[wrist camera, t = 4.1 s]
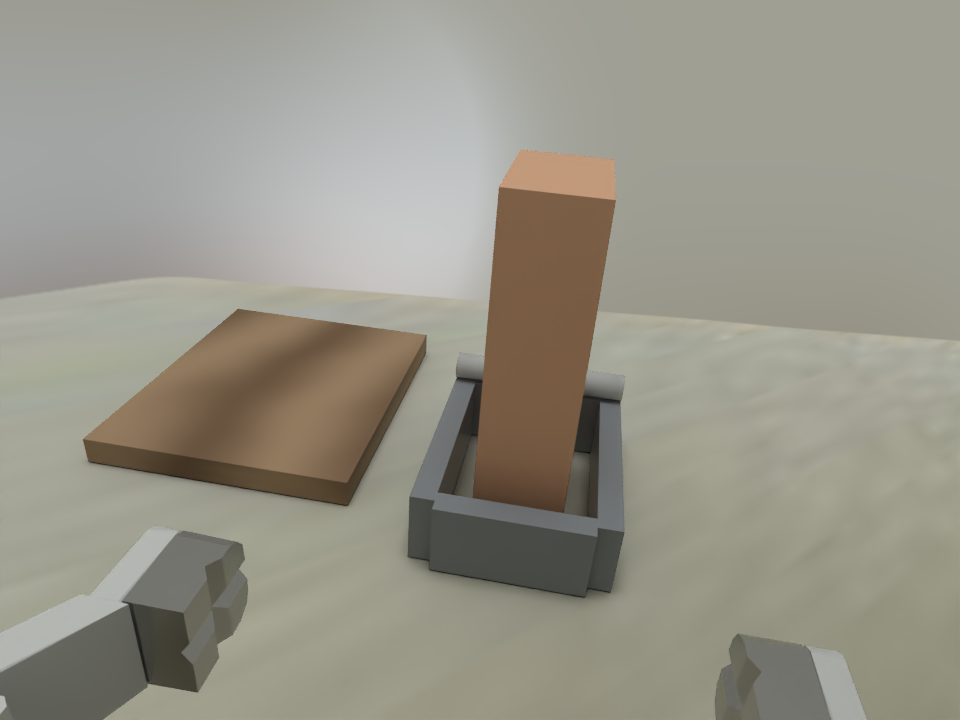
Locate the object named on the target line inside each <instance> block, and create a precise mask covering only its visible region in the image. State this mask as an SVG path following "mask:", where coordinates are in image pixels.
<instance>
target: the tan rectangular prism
mask: <svg viewBox="0 0 960 720" xmlns="http://www.w3.org/2000/svg"><path fill="white" fill-rule="evenodd" d="M615 202H616V193H615V167H614V160H613V159H603V158H594V157H585V156H575V155H565V154H555V153H547V152H538V151H528V150H520V152H519V153H518V155H517V157H516V159H515V160H514V162H513V164H512V165H511V167H510V169H509V171H508V172H507V174H506V176H505V178H504V179H503V181H502V183H501V184H500V186H499V194H498V206H497V218H496V230H495V241H494V253H493V265H492V277H491V289H490V300H489V312H488V324H487V336H486V348H485V359H484V371H483V383H482V395H481V407H480V418H479V430H478V442H477V454H476V466H475V477H474V489H473V498H475V499H481V500H487V501H493V502H499V503H505V504H511V505H517V506H523V507H529V508H535V509H541V510H547V511H553V512H560V513H563V512H564V506H565V500H566V494H567V488H568V482H569V476H570V471H571V465H572V459H573V453H574V447H575V441H576V435H577V429H578V423H579V417H580V411H581V405H582V399H583V393H584V387H585V381H586V375H587V369H588V363H589V357H590V351H591V345H592V339H593V333H594V327H595V321H596V315H597V309H598V303H599V297H600V291H601V286H602V279H603V274H604V267H605V262H606V256H607V250H608V244H609V238H610V232H611V226H612V220H613V214H614V208H615Z"/></svg>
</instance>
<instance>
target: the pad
mask: <svg viewBox="0 0 960 720" xmlns="http://www.w3.org/2000/svg"><path fill="white" fill-rule="evenodd" d="M426 337H427V335H421V334H414V333H407V332H400V331H393V330H385V329H378V328H371V327H364V326H357V325H349V324H342V323H335V322H328V321H321V320H314V319H306V318H299V317H292V316H285V315H278V314H270V313H263V312H256V311H249V310H242V309H237V310H236V311H235V312H234V313H233V314H232V315H230V316H229V317H228V318H227V319H226V320H224V321H223V322H222V323H221V324H220V325H218V326H217V327H216V328H215V329H214V330H212V331H211V332H210V333H209V334H208V335H206V336H205V337H204V338H203V339H202V340H201V341H199V342H198V343H197V344H196V345H195V346H193V347H192V348H191V349H190V350H189V351H187V352H186V353H185V354H184V355H183V356H181V357H180V358H179V359H178V360H177V361H175V362H174V363H173V364H172V365H171V366H170V367H168V368H167V369H166V370H165V371H164V372H162V373H161V374H160V375H159V376H158V377H156V378H155V379H154V380H153V381H152V382H150V383H149V384H148V385H147V386H146V387H144V388H143V389H142V390H141V391H140V392H139V393H137V394H136V395H135V396H134V397H133V398H131V399H130V400H129V401H128V402H127V403H125V404H124V405H123V406H122V407H121V408H119V409H118V410H117V411H116V412H115V413H113V414H112V415H111V416H110V417H109V418H108V419H106V420H105V421H104V422H103V423H102V424H100V425H99V426H98V427H97V428H96V429H94V430H93V431H92V432H91V433H90V434H88V435H87V436H86V437H85V438H84V439H83V442H84V446H85V450H86V454H87V458H88V461H90V462H96V463H102V464H107V465H113V466H119V467H125V468H131V469H137V470H143V471H149V472H155V473H161V474H166V475H172V476H178V477H184V478H190V479H196V480H202V481H208V482H214V483H220V484H226V485H231V486H237V487H243V488H249V489H255V490H261V491H267V492H273V493H279V494H285V495H290V496H296V497H302V498H308V499H314V500H320V501H326V502H332V503H338V504H344V505H348V503H349V502H350V500H351V498H352V496H353V494H354V492H355V490H356V488H357V486H358V484H359V482H360V480H361V478H362V476H363V474H364V472H365V470H366V468H367V466H368V465H369V463H370V461H371V459H372V457H373V455H374V453H375V451H376V449H377V447H378V445H379V443H380V441H381V439H382V437H383V435H384V433H385V431H386V430H387V428H388V426H389V424H390V422H391V420H392V418H393V416H394V414H395V412H396V410H397V408H398V406H399V404H400V402H401V400H402V398H403V396H404V394H405V393H406V391H407V389H408V387H409V385H410V383H411V381H412V379H413V377H414V375H415V373H416V371H417V369H418V367H419V365H420V363H421V361H422V359H423V358H424V356H425V354H426Z"/></svg>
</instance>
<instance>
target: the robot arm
mask: <svg viewBox="0 0 960 720" xmlns="http://www.w3.org/2000/svg"><path fill="white" fill-rule="evenodd" d="M244 560H245V557H244V551H243V545H242V544H240V543H238V542H235V541H230V540H225V539H220V538H216V537H211V536H206V535H202V534H197V533H192V532H187V531H181V530H176V529H171V528H166V527H161V526H157V525H156V526H154V527H152V528H150V529H148V530H147V531H146V532H145V533H144V534H143V535H142V536H141V537H140V538H139V540H138V541H137V542H136V543H135V544H134V545H133V546H132V547H131V549H130V550H129V551H128V552H127V553H126V554H125V555H124V557H123V558H122V559H121V560H120V561H119V562H118V563H117V564H116V566H115V567H114V568H113V569H112V570H111V571H110V572H109V574H108V575H107V576H106V577H105V578H104V579H103V580H102V581H101V583H100V584H99V585H98V586H97V587H96V588H95V589H94V591H93V592H92V593H91V594H90V595H89V596H87V595H81V594H80V595H78V596H76V597H74V598H72V599H70V600H68V601H66V602H64V603H61V604H59V605H57V606H55V607H53V608H51V609H49V610H47V611H45V612H43V613H41V614H39V615H36V616H34V617H32V618H30V619H28V620H26V621H24V622H22V623H20V624H18V625H16V626H13V627H11V628H9V629H7V630H5V631H3V632H1V633H0V720H103V719H104V718H106V717H107V716H108V715H110V714H111V713H112V712H114V711H115V710H117V709H118V708H119V707H121V706H122V705H123V704H125V703H126V702H128V701H129V700H130V699H132V698H133V697H134V696H136V695H137V694H139V693H140V692H141V691H143V690H144V689H145V688H147V686H148V685H147V684H152V685H158V686H164V687H169V688H175V689H180V690H186V691H191V692H197V693H198V692H199V690H200V688H201V687H202V685H203V683H204V682H205V680H206V679H207V677H208V675H209V674H210V672H211V670H212V669H213V667H214V665H215V664H216V662H217V660H218V659H219V654H218V647H217V644H219V643H220V642H222V641H223V640H225V639H227V638H228V637H230V636H232V635H233V633H234V631H235V630H236V628H237V626H238V624H239V623H240V621H241V618H242V615H243V612H244V609H245V606H246V603H247V595H248V583H247V578H246V577H245V576H244V574H243V573H242V572H241V571H240V570H239V567H240V566H241V564H242V563H243V561H244ZM729 653H730V659H731V664H730V665H728V666H726V667H724V668H723V669H722V670H721V673H720V676H719V679H718V682H717V688H716V697H715V716H716V720H867V717H866V714H865V712H864V709H863V706H862V704H861V701H860V698H859V695H858V693H857V690H856V687H855V685H854V682H853V679H852V676H851V674H850V671H849V668H848V666H847V663H846V660H845V658H844V657H843V655H842V654H841V653H840V652H839V651H833V650H828V649H822V648H816V647H811V646H802V645H801V644H795V643H789V642H783V641H778V640H772V639H766V638H760V637H754V636H749V635H743V634H737V635H736V636H735V637H734V638H733V640H732V643H731V646H730V648H729Z"/></svg>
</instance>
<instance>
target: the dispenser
mask: <svg viewBox="0 0 960 720" xmlns="http://www.w3.org/2000/svg"><path fill="white" fill-rule="evenodd" d="M484 359H485V356H481V355H474V354H467V353H459V356H458V360H457V366H456V377H457V379H456V381H455V384H454V386H453V389H452V391H451V394H450V396H449V399H448V401H447V404H446V406H445V409H444V411H443V414H442V416H441V419H440V421H439V424H438V426H437V429H436V431H435V434H434V436H433V439H432V441H431V444H430V446H429V449H428V451H427V454H426V456H425V459H424V461H423V464H422V466H421V469H420V472H419V474H418V477H417V479H416V482H415V484H414V487H413V489H412V492H411V494H410V500H409V534H408V556H410V557H415V558H421V559H427V560H429V569H430V570H436V571H441V572H447V573H452V574H458V575H464V576H469V577H475V578H481V579H486V580H492V581H497V582H503V583H509V584H514V585H520V586H526V587H531V588H537V589H542V590H548V591H554V592H559V593H565V594H571V595H576V596H582V597H585V595H586V590H587V588H591V589H597V590H603V591H608V592H611V589H612V585H613V580H614V576H615V571H616V567H617V563H618V558H619V554H620V549H621V545H622V541H623V536H624V502H623V470H622V438H621V406H620V401H621V399H622V395H623V390H624V381H625V376H623V375H616V374H609V373H602V372H595V371H588V370H587V375H586V381H585V387H584V393H583V399H582V405H581V411H580V417H579V423H578V429H577V435H576V441H575V447H574V450H577V451H583V452H590V453H591V456H590V482H589V509H588V517H584V516H578V515H572V514H566V513H560V512H553V511H547V510H541V509H535V508H529V507H523V506H517V505H511V504H505V503H499V502H493V501H487V500H481V499H475V498H469V497H462V496H456V495H452V494H453V491H454V488H455V485H456V482H457V478H458V475H459V472H460V469H461V466H462V462H463V459H464V456H465V453H466V450H467V446H468V443H469V440H470V437H471V434H473V435H478V430H479V418H480V407H481V395H482V383H483V371H484Z"/></svg>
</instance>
